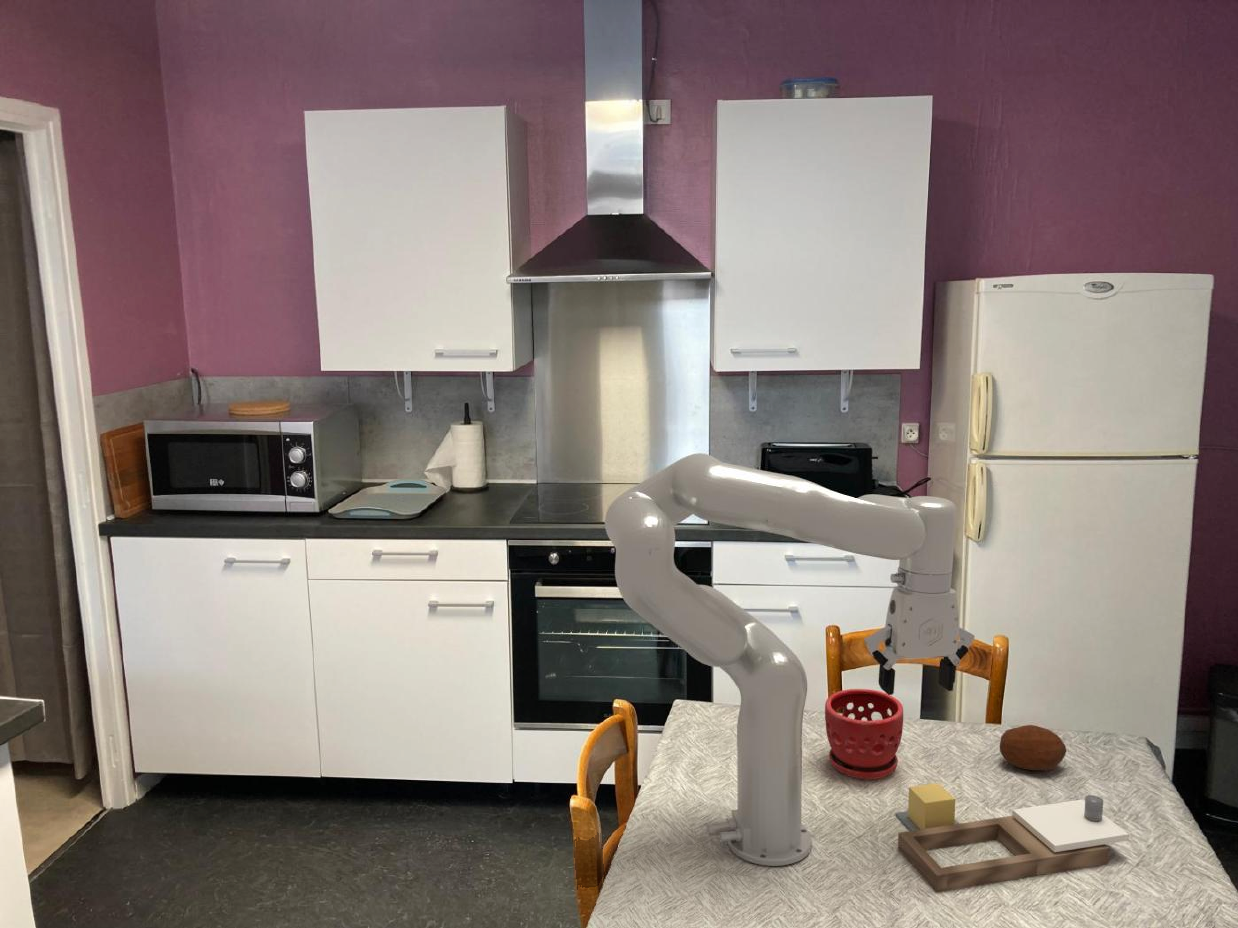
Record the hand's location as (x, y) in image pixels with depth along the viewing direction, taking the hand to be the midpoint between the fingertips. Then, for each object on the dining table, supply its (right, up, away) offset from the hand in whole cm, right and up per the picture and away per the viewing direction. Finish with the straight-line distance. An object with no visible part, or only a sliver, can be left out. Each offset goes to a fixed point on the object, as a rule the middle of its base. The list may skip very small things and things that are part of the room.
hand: (916, 689), depth 147 cm
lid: (+22, -20, -3) cm, 29 cm away
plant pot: (-2, -19, +22) cm, 29 cm away
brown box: (+11, -23, -5) cm, 26 cm away
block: (+3, -22, +4) cm, 22 cm away
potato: (+26, -18, +21) cm, 38 cm away
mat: (+4, -22, +4) cm, 22 cm away
